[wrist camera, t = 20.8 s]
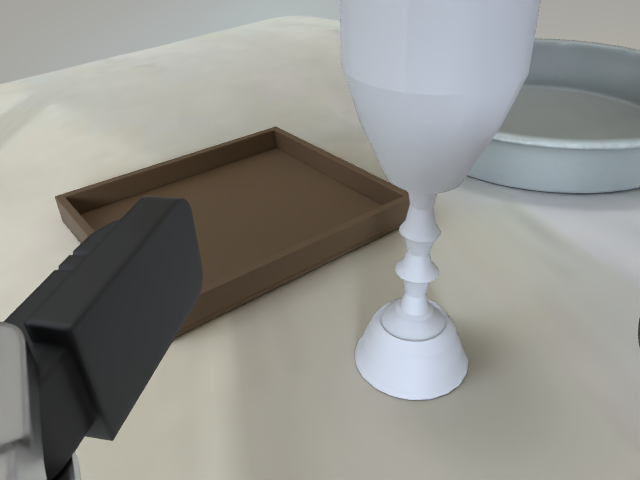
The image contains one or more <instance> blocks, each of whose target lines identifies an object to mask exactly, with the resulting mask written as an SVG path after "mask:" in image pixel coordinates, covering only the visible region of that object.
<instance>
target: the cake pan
mask: <svg viewBox="0 0 640 480" xmlns="http://www.w3.org/2000/svg"><path fill="white" fill-rule="evenodd" d="M467 176H470V177H473V178H476V179H479V180H483V181H487V182H491V183H495V184H499V185H504V186H509V187H515V188H521V189H527V190H535V191H543V192H557V193H604V192H614V191H622V190H628V189H634V188H639V187H640V50H637V49H631V48H627V47H622V46H615V45H609V44H602V43H594V42H585V41H574V40H560V39H534V44H533V50H532V56H531V62H530V68H529V74H528V76H527V78H526V80H525V82H524V84H523V86H522V87H521V89H520V91H519V93H518V95H517V97H516V99H515V101H514V103H513V105H512V106H511V108H510V110H509V112H508V114H507V116H506V118H505V120H504V122H503V124H502V126H501V127H500V129H499V130H498V132H497V133H496V134H495V136H494V137H493V139H492V140H491V141H490V143H489V144H488V146H487V147H486V149H485V150H484V151H483V153H482V154H481V156H480V157H479V159H478V160H477V161H476V163H475V164H474V166H473V167H472V168H471V170H470V171H469V173H468V174H467Z"/></svg>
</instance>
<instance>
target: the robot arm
mask: <svg viewBox="0 0 640 480" xmlns="http://www.w3.org/2000/svg"><path fill="white" fill-rule="evenodd" d="M202 281H203V269H202V263H201V257H200V252H199V246H198V241H197V236H196V230H195V225H194V220H193V214H192V210H191V207H190V204H189V202H188V201H187V200H186V199H183V198H171V197H157V196H143V197H142V198H140V199H139V200H138V201H137V202H136V203H135V205H134V206H133V207H132V208H131V209H130V210H129V211H128V212H127V213H126V214H125V215H124V216H123V217H122V218H121V219H120V220H115V221H113V222H111V223H109V224H107V225H106V226H104V227H102V228H100V229H99V230H97V231H95V232H93V233H92V234H90V235H89V236H88V237H87V238H86V239H85V240H84V241H83V242H82V243H81V244H80V245H79V246H78V247H77V248H76V249H75V250H74V251H73V255H69V256H68V257H67V258H66V259H65V260H64V261H63V262H62V263H61V264H60V265H59V269H58V270H54V271H53V272H52V273H51V274H50V275H49V276H48V277H47V279H46V280H45V281H44V282H43V283H42V284H41V285H40V286H39V287H38V288H37V289H36V290H35V291H34V292H33V293H32V294H31V295H30V296H29V297H28V298H27V299H26V300H25V301H24V302H23V303H22V304H21V305H20V306H19V307H18V308H17V309H16V310H15V311H14V312H13V313H12V314H11V315H10V316H9V317H8V318H7V319H6V320H5V321H4V322H0V480H81V474H80V467H79V461H78V458H77V455H76V453H75V450H76V449H77V447H78V446H79V444H80V443H81V441H82V440H83V438H84V436H87V437H93V438H99V439H105V440H111V441H113V439H114V438H115V436H116V435H117V433H118V431H119V430H120V428H121V426H122V425H123V423H124V421H125V420H126V418H127V416H128V415H129V413H130V411H131V410H132V408H133V406H134V405H135V403H136V401H137V400H138V398H139V396H140V395H141V393H142V391H143V390H144V388H145V386H146V385H147V383H148V381H149V380H150V378H151V376H152V375H153V373H154V371H155V370H156V368H157V366H158V365H159V363H160V361H161V360H162V358H163V356H164V355H165V353H166V351H167V350H168V348H169V346H170V345H171V343H172V341H173V340H174V338H175V336H176V335H177V333H178V331H179V330H180V328H181V326H182V325H183V323H184V322H185V320H186V318H187V317H188V315H189V313H190V312H191V310H192V308H193V307H194V305H195V303H196V302H197V300H198V297H199V295H200V292H201V287H202ZM638 339H639V346H640V319H639V327H638Z"/></svg>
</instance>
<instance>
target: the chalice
mask: <svg viewBox="0 0 640 480" xmlns="http://www.w3.org/2000/svg"><path fill="white" fill-rule="evenodd" d="M540 2H541V0H340V28H341V65H342V68H343V71H344V74H345V77H346V80H347V83H348V86H349V89H350V92H351V95H352V98H353V101H354V104H355V107H356V110H357V114H358V117H359V120H360V123H361V125H362V127H363V129H364V131H365V133H366V135H367V137H368V139H369V142H370V144H371V146H372V148H373V150H374V152H375V154H376V156H377V158H378V160H379V162H380V164H381V166H382V169H383V171H384V173H385V175H386V177H387V179H388V180H389V181H390V182H391V183H392V184H394V185H396V186H398V187H400V188H401V189H405V190H408V193H409V199H410V206H409V210H408V213H407V217H406V220H405V221H404V222H403V223H402V224H401V225H400V227H399V232H400V234H401V235H402V236H403V237H404V239H405V242H406V246H407V251H406V254H405V256H404V258H403V259H402V260H400V261H399V262H398V263H397V264H396V266H395V271H396V273H397V274H398V276H399V277H401V278H402V279H403V283H404V288H405V292H404V295H403V298H399V299H395V300H393V301H391V302H389V303H387V304H386V305H384V306H383V307H381V308H380V309H379V310H378V311H377V312H376V313H375V314H374V315H373V317H372V320H371V323H370V324H369V325H368V326H367V327H366V330H365V333H364V335H363V336H362V337H361V338H360V339H359V341H358V344H357V347H356V350H355V360H356V366H357V367H358V369H359V371H360V373H361V375H362V376H363V378H364V379H366V380H367V381H368V382H369V383H370V384H371V385H372V386H373V387H375V388H376V389H378V390H380V391H382V392H384V393H386V394H388V395H391V396H393V397H398V398H403V399H408V400H424V399H432V398H436V397H439V396H442V395H445V394H447V393H449V392H450V391H452V390H453V389H454V388H456V387H457V386H459V385H460V383H461V382H462V380H463V378H464V377H465V375H466V374H467V366H468V359H467V356H466V353H465V350H464V347H463V346H462V344H461V341H460V338H459V335H458V333H457V331H456V328H455V325H454V322H453V320H452V319H451V318H450V316H449V315H448V314H447V313H446V312H445V311H444V310H443V309H442V307H440V306H439V305H437V304H436V303H434V302H432V301H430V300H427V298H426V291H427V289H428V286H429V283H430V282H431V281H433V280H434V279H436V278H437V276H438V275H439V270H438V267H437V266H436V265H435V264H434V263H433V262H432V261H431V257H430V253H429V252H430V249H431V247H432V245H433V242H434V241H435V240H436V239H437V238H438V237H439V236H440V234H441V231H440V229H439V227H438V226H437V224H436V223H435V216H434V209H433V205H434V201H435V198H436V195H437V193H441V192H446V191H450V190H452V189H454V188H456V187H458V186H459V185H460V184H461V182H462V181H463V180H464V178H465V177H466V176H467V174H468V173H469V171H470V170H471V168H472V167H473V166H474V164H475V163H476V161H477V160H478V159H479V157H480V156H481V154H482V153H483V151H484V150H485V149H486V147H487V146H488V144H489V143H490V141H491V140H492V139H493V137H494V136H495V134H496V133H497V132H498V130H499V129H500V127H501V126H502V124H503V122H504V120H505V118H506V116H507V114H508V112H509V110H510V108H511V106H512V105H513V103H514V101H515V99H516V97H517V95H518V93H519V91H520V89H521V87H522V86H523V84H524V82H525V80H526V78H527V76H528V74H529V68H530V62H531V56H532V50H533V44H534V38H535V32H536V26H537V20H538V14H539V8H540Z"/></svg>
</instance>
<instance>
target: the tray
mask: <svg viewBox="0 0 640 480" xmlns="http://www.w3.org/2000/svg"><path fill="white" fill-rule="evenodd" d="M143 196H157V197H171V198H183V199H186V200H187V201H188V202H189V204H190V207H191V210H192V214H193V220H194V225H195V230H196V236H197V241H198V246H199V252H200V257H201V263H202V269H203V281H202V287H201V292H200V295H199V297H198V300H197V302H196V303H195V305H194V307H193V308H192V310H191V312H190V313H189V315H188V317H187V318H186V320H185V322H184V323H183V325H182V326H181V328H180V330H179V331H178V333H177V335H176V336H175V337H177V336H179V335H181V334H183V333H185V332H187V331H189V330H191V329H193V328H196V327H198V326H200V325H202V324H204V323H206V322H208V321H210V320H212V319H214V318H216V317H218V316H220V315H222V314H224V313H226V312H228V311H230V310H232V309H234V308H236V307H238V306H240V305H243V304H245V303H247V302H249V301H251V300H253V299H255V298H257V297H259V296H261V295H263V294H265V293H267V292H269V291H271V290H273V289H275V288H277V287H279V286H281V285H283V284H285V283H288V282H290V281H292V280H294V279H296V278H298V277H300V276H302V275H304V274H306V273H308V272H310V271H312V270H314V269H316V268H318V267H320V266H322V265H324V264H326V263H328V262H330V261H332V260H335V259H337V258H339V257H341V256H343V255H345V254H347V253H349V252H351V251H353V250H355V249H357V248H359V247H361V246H363V245H365V244H367V243H369V242H371V241H373V240H375V239H377V238H379V237H382V236H384V235H386V234H388V233H390V232H392V231H394V230H396V229H398V228H399V227H400V225H401V224H402V223H403V222H404V221H405V220H406V217H407V213H408V210H409V206H410V199H409V193H408V192H407V191H405V190H403V189H401V188H399V187H397V186H395V185H393V184H391V183H389V182H387V181H385V180H383V179H381V178H379V177H377V176H375V175H373V174H370V173H368V172H366V171H364V170H362V169H360V168H358V167H356V166H354V165H352V164H350V163H348V162H346V161H344V160H342V159H340V158H338V157H336V156H334V155H332V154H330V153H328V152H326V151H324V150H322V149H320V148H318V147H316V146H314V145H312V144H310V143H308V142H306V141H304V140H302V139H300V138H298V137H296V136H294V135H292V134H290V133H288V132H286V131H284V130H282V129H280V128H278V127H273V128H270V129H267V130H263V131H260V132H257V133H254V134H251V135H248V136H245V137H241V138H238V139H235V140H232V141H229V142H226V143H222V144H219V145H216V146H213V147H210V148H207V149H203V150H200V151H197V152H194V153H191V154H188V155H184V156H181V157H178V158H175V159H172V160H169V161H165V162H162V163H159V164H156V165H153V166H150V167H147V168H143V169H140V170H137V171H134V172H131V173H128V174H124V175H121V176H118V177H115V178H112V179H109V180H105V181H102V182H99V183H96V184H93V185H90V186H86V187H83V188H80V189H77V190H74V191H71V192H67V193H64V194H61V195H58V196H55V199H56V202H57V205H58V208H59V211H60V214H61V218H62V220H63V222H64V223H65V224H66V225H67V227H68V228H69V229H70V230H71V232H72V233H73V234H74V235H75V237H76V238H77V239H78V240H79V241H80V243H82V242H83V241H84V240H85V239H86V238H87V237H88V236H89V235H90V234H92V233H93V232H95V231H97V230H99V229H100V228H102V227H104V226H106V225H107V224H109V223H111V222H113V221H115V220H120V219H121V218H122V217H123V216H124V215H125V214H126V213H127V212H128V211H129V210H130V209H131V208H132V207H133V206H134V205H135V203H136V202H137V201H138V200H139V199H140V198H142V197H143Z"/></svg>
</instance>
